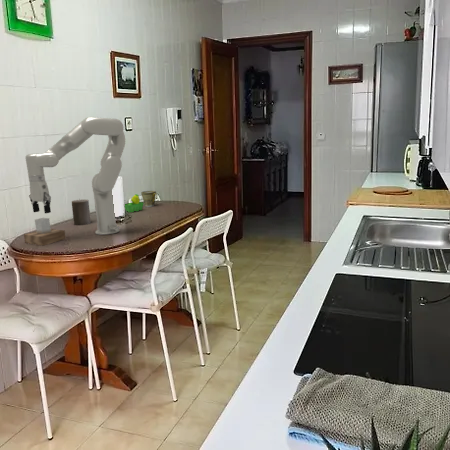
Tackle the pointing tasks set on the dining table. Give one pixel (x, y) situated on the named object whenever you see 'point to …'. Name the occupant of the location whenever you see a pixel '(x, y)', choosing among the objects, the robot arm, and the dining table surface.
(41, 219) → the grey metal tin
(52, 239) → the walnut block
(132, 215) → the dining table surface
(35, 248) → the dining table surface
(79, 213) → the pillar candle
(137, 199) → the fruit basket
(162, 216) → the dining table surface
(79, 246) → the dining table surface
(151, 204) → the ceramic cup
